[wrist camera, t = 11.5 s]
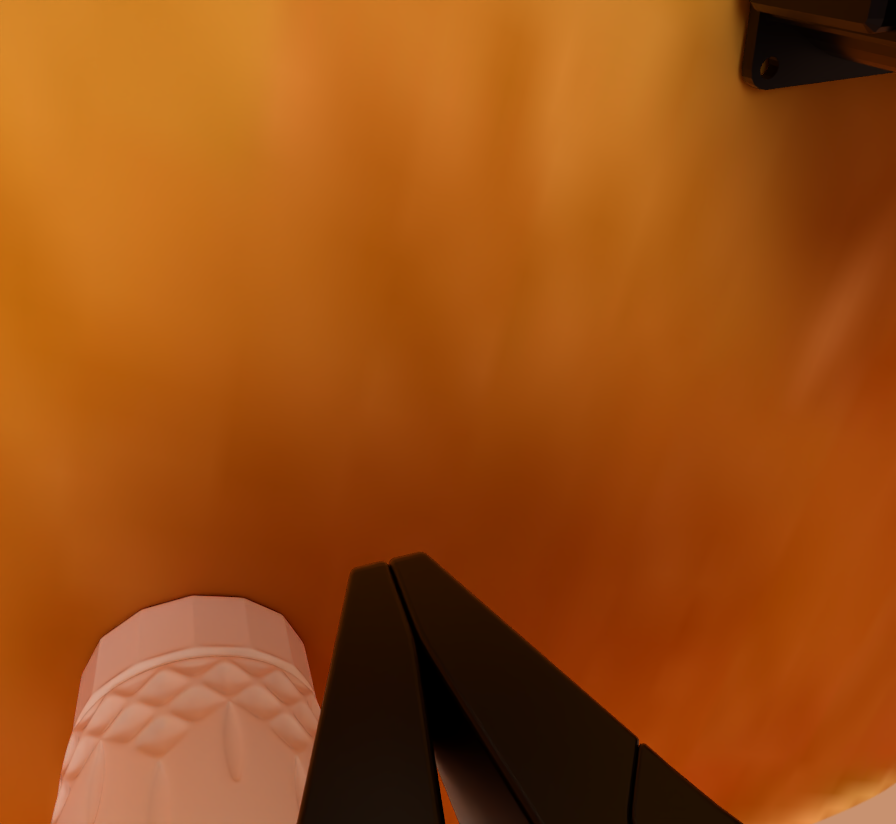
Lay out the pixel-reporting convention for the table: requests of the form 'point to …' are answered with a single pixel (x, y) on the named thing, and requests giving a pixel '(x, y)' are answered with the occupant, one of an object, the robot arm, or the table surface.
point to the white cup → (192, 719)
